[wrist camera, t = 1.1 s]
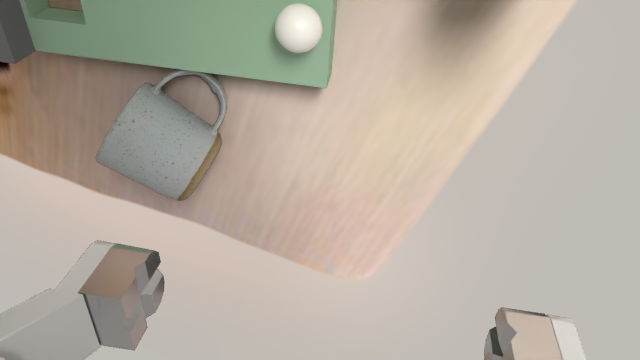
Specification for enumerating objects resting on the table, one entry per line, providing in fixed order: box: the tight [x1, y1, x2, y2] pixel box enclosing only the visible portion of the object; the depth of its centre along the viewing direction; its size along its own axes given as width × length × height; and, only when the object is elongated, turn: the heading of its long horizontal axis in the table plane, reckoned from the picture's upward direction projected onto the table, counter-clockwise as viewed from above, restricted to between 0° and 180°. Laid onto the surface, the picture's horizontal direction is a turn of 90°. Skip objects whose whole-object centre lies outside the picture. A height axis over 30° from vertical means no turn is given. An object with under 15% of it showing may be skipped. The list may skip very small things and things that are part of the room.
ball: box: [275, 3, 322, 53], centre depth 33 cm, size 3×3×3 cm
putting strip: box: [0, 0, 337, 88], centre depth 35 cm, size 10×26×5 cm, turn 87°
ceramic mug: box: [96, 69, 227, 201], centre depth 40 cm, size 11×8×8 cm
